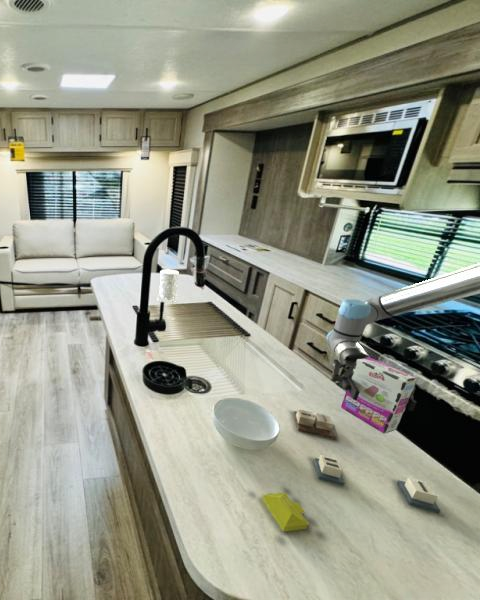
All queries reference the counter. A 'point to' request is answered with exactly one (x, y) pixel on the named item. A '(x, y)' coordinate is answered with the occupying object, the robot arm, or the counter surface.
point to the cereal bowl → (245, 423)
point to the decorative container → (168, 284)
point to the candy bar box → (379, 394)
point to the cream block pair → (314, 424)
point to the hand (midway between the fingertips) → (383, 401)
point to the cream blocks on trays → (412, 489)
